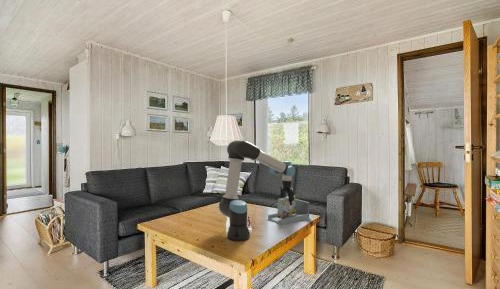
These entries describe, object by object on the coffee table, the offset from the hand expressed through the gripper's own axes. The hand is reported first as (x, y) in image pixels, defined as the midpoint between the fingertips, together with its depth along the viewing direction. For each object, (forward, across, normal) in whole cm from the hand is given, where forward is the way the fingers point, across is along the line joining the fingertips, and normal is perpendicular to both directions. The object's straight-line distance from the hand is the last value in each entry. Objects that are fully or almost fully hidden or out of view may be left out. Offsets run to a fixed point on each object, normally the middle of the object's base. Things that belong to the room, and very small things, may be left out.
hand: (286, 208), depth 209 cm
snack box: (+6, 0, 0) cm, 6 cm away
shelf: (+9, 0, -2) cm, 9 cm away
